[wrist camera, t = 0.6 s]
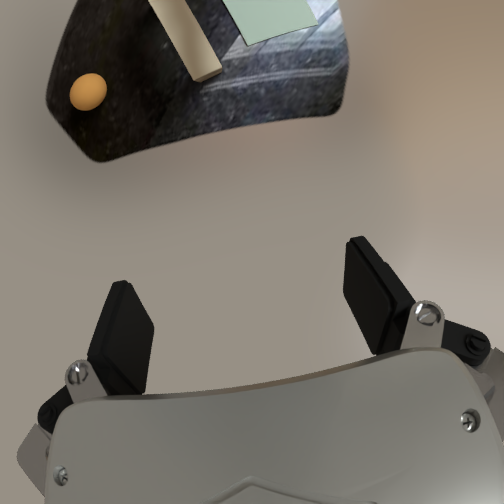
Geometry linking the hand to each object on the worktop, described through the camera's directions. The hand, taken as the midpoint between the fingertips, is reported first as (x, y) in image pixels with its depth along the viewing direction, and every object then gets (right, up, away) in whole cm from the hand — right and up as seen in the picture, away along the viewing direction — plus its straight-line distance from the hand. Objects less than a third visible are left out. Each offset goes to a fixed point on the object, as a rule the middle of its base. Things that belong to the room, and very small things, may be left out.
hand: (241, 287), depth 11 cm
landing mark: (+2, +33, +12) cm, 35 cm away
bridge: (-8, +28, +14) cm, 32 cm away
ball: (-20, +21, +14) cm, 32 cm away
